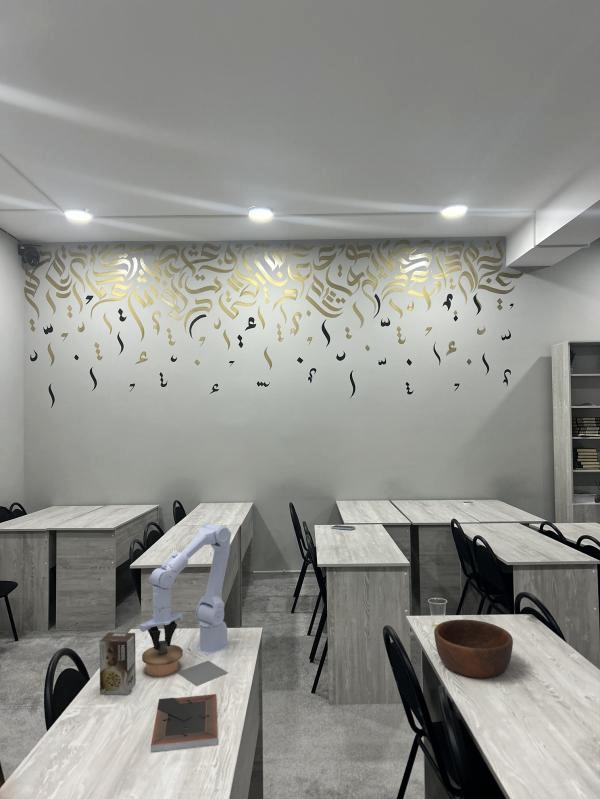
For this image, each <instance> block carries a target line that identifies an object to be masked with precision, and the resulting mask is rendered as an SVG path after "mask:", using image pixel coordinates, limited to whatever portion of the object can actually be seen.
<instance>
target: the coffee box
mask: <svg viewBox="0 0 600 799" xmlns="http://www.w3.org/2000/svg"><path fill="white" fill-rule="evenodd" d="M98 644H99V695H121V696H122V695H124V696H125V695H126V696H128V695H129V694H130V693H131V692H132V689H133V688H134V687H135V686H136V684H137V683H136V680H137V679H136V675H137V674H136V671H137V670H136V633H135V632H107V633H106V634H105V636H103V637H102V638H101V639H100V640H99V641H98Z"/></svg>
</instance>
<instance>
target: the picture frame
mask: <svg viewBox="0 0 600 799" xmlns="http://www.w3.org/2000/svg"><path fill="white" fill-rule="evenodd" d="M217 702H218V700H217V694H216V693H213V694H212V693H211V694H203V695H192V696H191V695H190V696H183V697H181V696H180V697H167V698H158V702H157V708H156V714H155V720H154V726H153V731H152V737H151V743H150V753H155V752H163V751H164V750H165V751H173V750H180V749H182V748H183V749H189V748H188V747H192V748H198V747H197V746H201V747H209V746H217V745H218V738H219V737H218V736H219V735H218V711H217V708H218V707H217V706H218V704H217Z"/></svg>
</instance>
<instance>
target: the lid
mask: <svg viewBox="0 0 600 799" xmlns="http://www.w3.org/2000/svg"><path fill="white" fill-rule="evenodd" d="M183 653H184V650H183V648H182V647H181V646H178V645H175V644H170V646H169V647H168V646H167V641H165V640H159V650H155V649H154V646H152V647H149V648H148V649H146V650H145V651H143V653H142V654H141V660H142V662H143V663H144V664H145V665H146V664H148V665H154V666H160V665H167V664H171V663H174V662H176V661H179V660H180V659H181V658H183Z"/></svg>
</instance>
